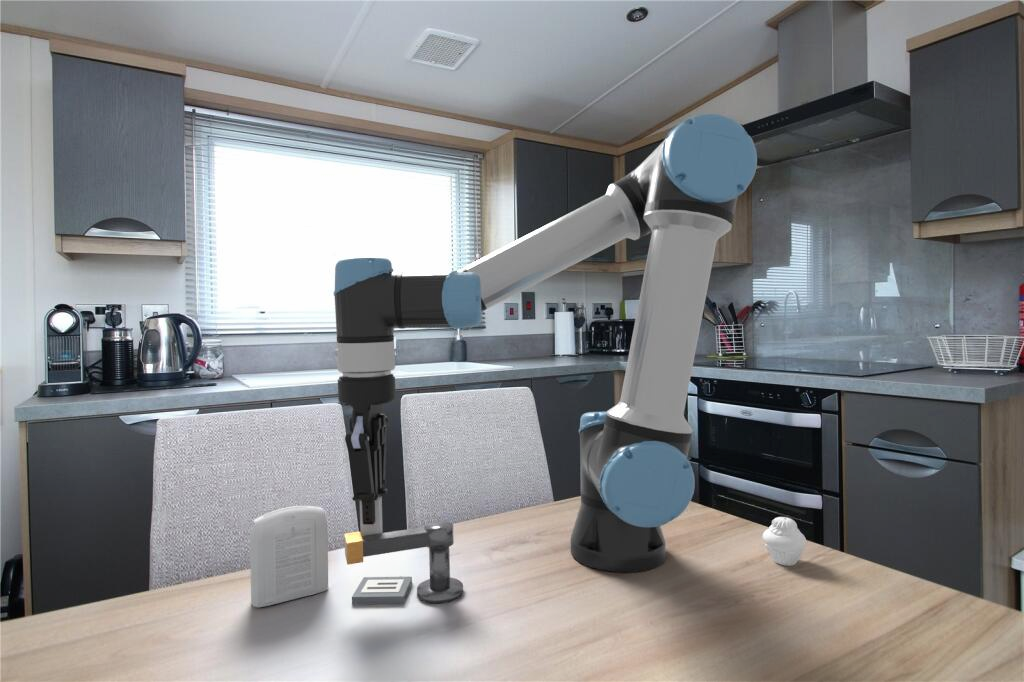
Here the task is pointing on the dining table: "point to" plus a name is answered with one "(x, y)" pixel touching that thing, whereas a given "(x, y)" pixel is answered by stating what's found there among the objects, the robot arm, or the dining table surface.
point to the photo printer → (288, 555)
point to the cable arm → (398, 541)
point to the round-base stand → (439, 580)
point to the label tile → (382, 590)
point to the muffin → (784, 541)
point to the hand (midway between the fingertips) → (372, 544)
